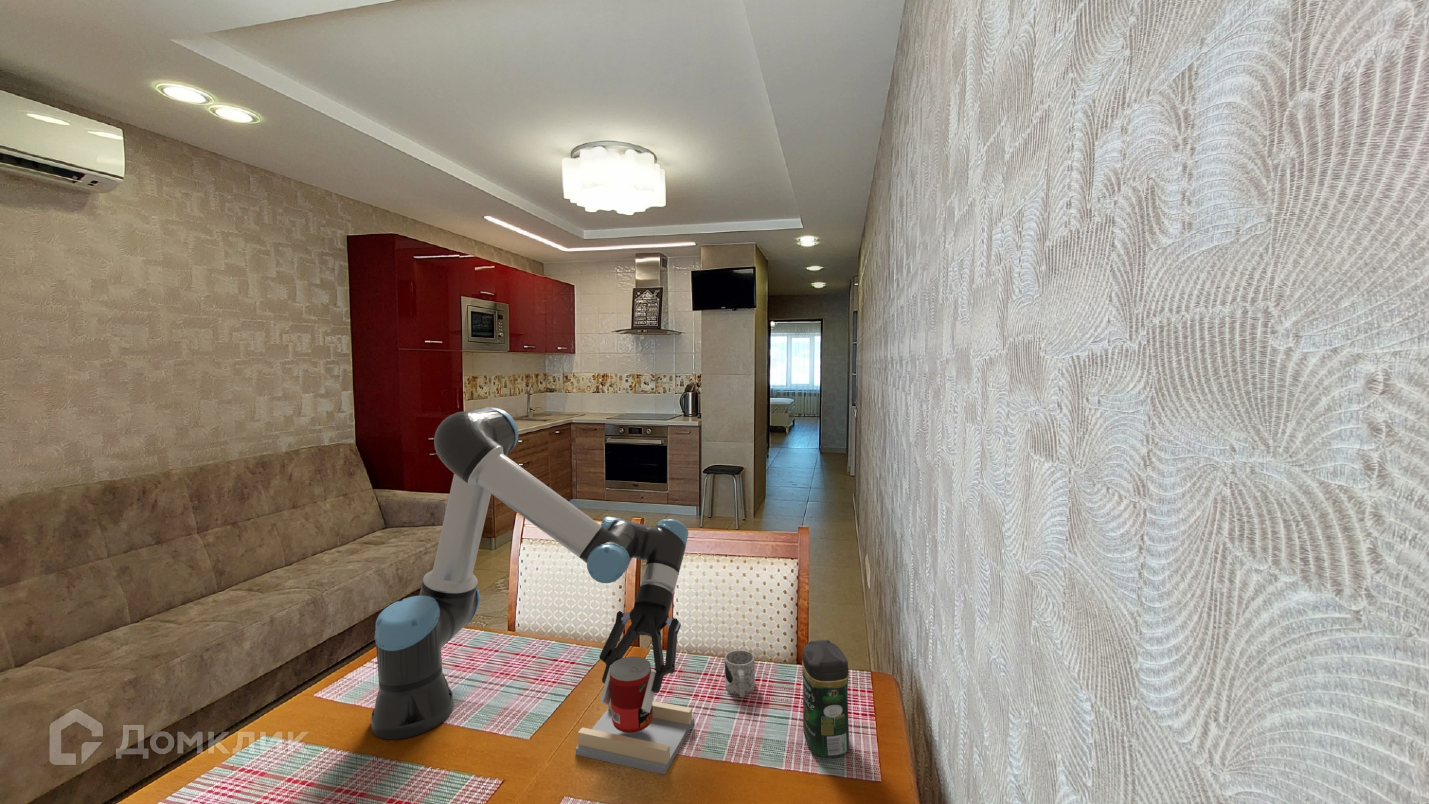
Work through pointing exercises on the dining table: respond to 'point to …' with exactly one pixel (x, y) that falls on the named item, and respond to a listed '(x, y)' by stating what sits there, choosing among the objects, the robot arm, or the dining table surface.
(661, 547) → the robot arm
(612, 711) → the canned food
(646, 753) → the track
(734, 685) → the mug
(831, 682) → the coffee jar
